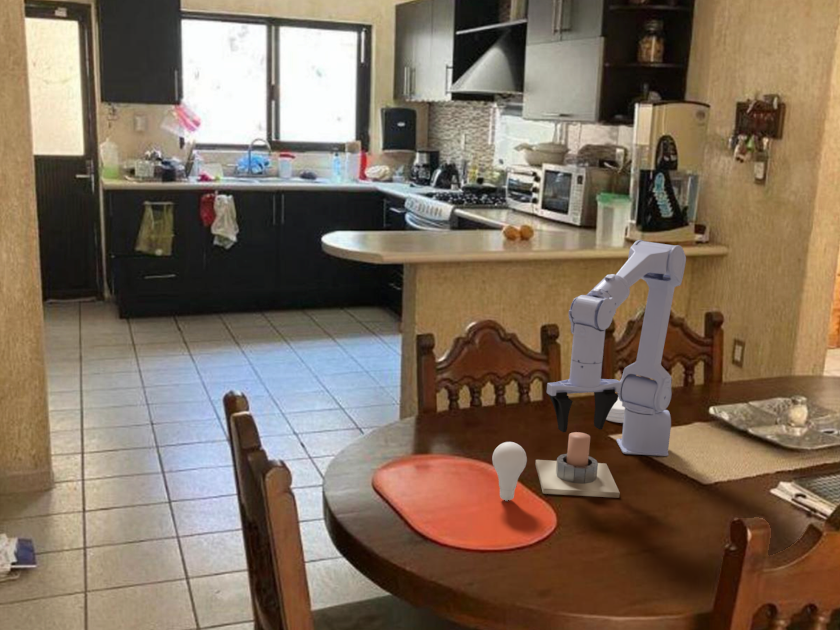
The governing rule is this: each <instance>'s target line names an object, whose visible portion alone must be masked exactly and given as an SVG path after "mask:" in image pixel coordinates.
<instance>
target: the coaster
mask: <svg viewBox="0 0 840 630" xmlns="http://www.w3.org/2000/svg"><path fill="white" fill-rule="evenodd" d="M624 412H625V407H623V406H622V402H621V401H620V400H619V397H618V400H617V401H616V403H615V404H614V405H613V407H612V408H611V410H610V412H609V414H608V416H607V418H606V420H605V421H609V422H612V423H618V424H619V423H620V424H623V422H624Z"/></svg>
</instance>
